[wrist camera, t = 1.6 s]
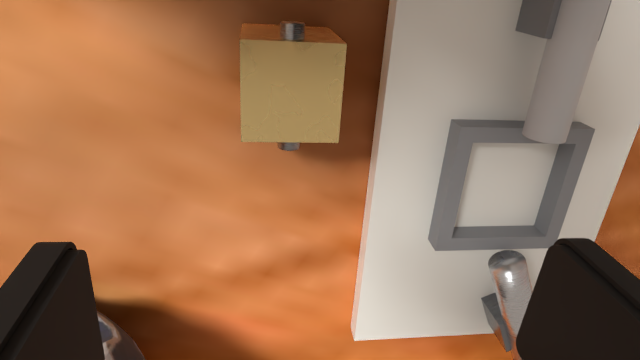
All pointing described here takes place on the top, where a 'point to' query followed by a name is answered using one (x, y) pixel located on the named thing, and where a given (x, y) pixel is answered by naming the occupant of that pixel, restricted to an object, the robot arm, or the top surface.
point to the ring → (117, 341)
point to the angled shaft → (507, 297)
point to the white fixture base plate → (488, 150)
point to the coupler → (291, 84)
